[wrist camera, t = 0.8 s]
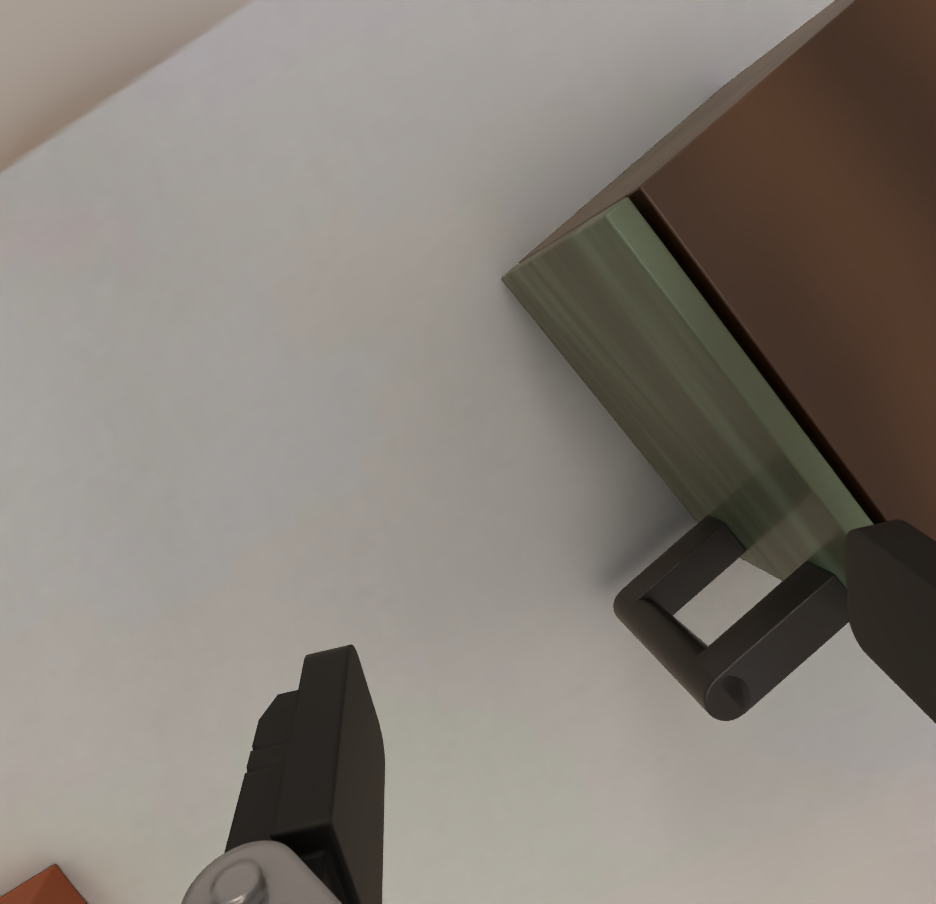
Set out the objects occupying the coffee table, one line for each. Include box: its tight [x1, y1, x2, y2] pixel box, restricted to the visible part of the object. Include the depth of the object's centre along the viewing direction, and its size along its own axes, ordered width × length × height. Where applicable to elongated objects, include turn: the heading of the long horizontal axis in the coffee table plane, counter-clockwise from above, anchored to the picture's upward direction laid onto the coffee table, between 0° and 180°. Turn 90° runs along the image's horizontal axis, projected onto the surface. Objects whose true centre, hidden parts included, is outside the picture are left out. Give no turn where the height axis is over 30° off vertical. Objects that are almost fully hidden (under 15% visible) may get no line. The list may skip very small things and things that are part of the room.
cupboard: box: [519, 0, 936, 541], centre depth 27 cm, size 12×16×15 cm
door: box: [502, 197, 873, 721], centre depth 27 cm, size 7×16×15 cm, turn 40°
